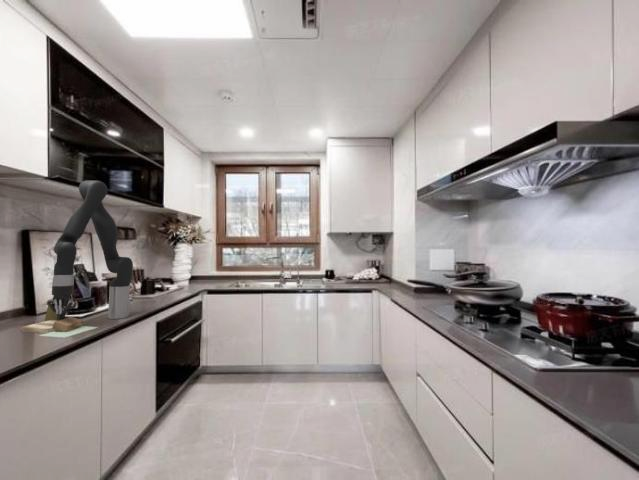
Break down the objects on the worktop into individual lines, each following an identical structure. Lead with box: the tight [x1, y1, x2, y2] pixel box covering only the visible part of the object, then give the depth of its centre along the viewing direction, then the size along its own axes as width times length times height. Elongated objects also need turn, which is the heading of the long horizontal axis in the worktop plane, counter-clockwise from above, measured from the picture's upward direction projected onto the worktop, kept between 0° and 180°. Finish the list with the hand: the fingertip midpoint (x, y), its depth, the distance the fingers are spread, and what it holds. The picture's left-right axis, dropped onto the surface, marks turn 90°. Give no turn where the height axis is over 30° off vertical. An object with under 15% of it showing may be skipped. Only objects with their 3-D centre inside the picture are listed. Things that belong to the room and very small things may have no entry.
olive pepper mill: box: [44, 298, 57, 322], centre depth 150 cm, size 6×6×11 cm
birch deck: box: [20, 320, 57, 334], centre depth 136 cm, size 13×14×2 cm
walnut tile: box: [52, 316, 84, 332], centre depth 134 cm, size 9×6×3 cm, turn 1°
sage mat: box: [38, 325, 99, 339], centre depth 131 cm, size 16×12×1 cm
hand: (60, 321), depth 135 cm, fingers closed
